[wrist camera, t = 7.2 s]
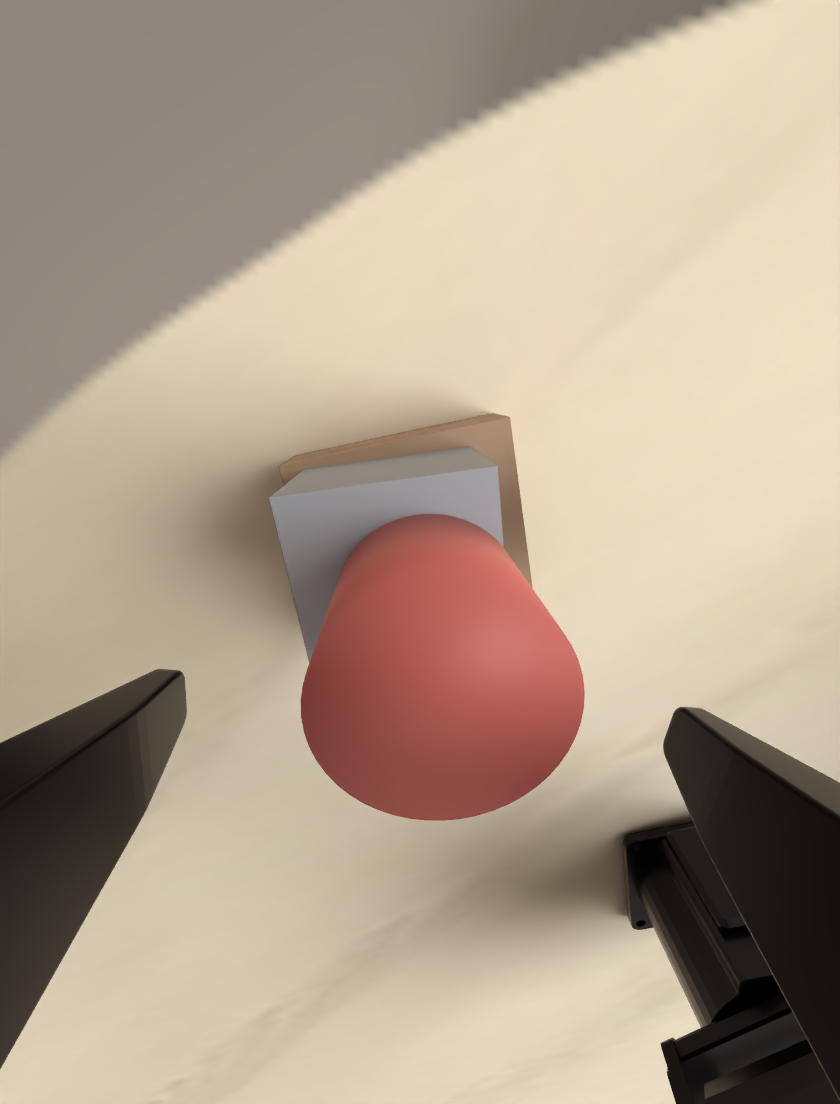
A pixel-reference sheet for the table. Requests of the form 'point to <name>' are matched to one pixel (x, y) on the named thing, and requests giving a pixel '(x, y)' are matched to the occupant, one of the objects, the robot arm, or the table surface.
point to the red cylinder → (439, 675)
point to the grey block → (371, 514)
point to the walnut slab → (478, 432)
